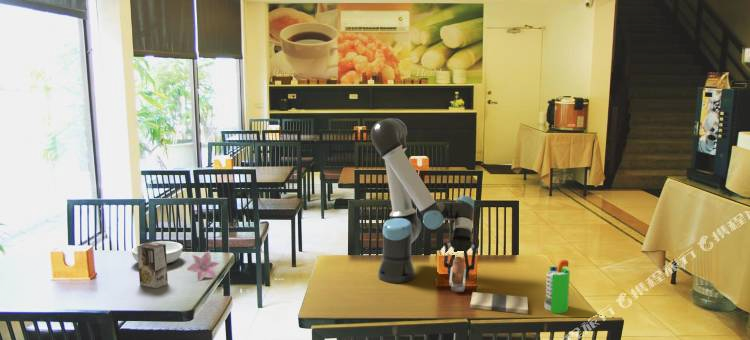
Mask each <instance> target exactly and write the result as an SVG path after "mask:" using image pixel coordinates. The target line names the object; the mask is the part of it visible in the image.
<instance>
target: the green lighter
mask: <svg viewBox="0 0 750 340" xmlns="http://www.w3.org/2000/svg"><path fill="white" fill-rule="evenodd" d="M557 265H558V266H552V265H551V266H549V270H548V271H547V272H546V283H545V284H546V285H545V288H546V289H545V297H546V298H547V299H545V300H544V308H545V310H547V311H550V313H551V314H563V313H566V312H567V311H569V295H570V294H569V291H570V270H569V269H568V268H569V260H567V259H561V260H560V261H559V263H558V264H557ZM565 267H568V268H565Z"/></svg>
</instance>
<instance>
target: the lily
mask: <svg viewBox="0 0 750 340" xmlns="http://www.w3.org/2000/svg"><path fill="white" fill-rule="evenodd" d="M192 258H193V260H194V263H192V264H191V265H189V266H188V267H187V268H186V271H189V272H192V273H197V281H200V282H201V280H202V279H203V278H204V277H205V276H206V277H209V278H212V279H217V275H216V273H215V270H214V268H216V267H218V265H219V264H220V263H218V262H216V261H212V255H211V251H210V250H207V251H206V252H205V253H204V254H203V255H202V256H201V257H199V256H198V255H192Z"/></svg>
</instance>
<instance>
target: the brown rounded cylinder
mask: <svg viewBox="0 0 750 340" xmlns="http://www.w3.org/2000/svg"><path fill="white" fill-rule="evenodd" d="M452 267H453V278H452V285H450V287H451V288H450V290H451V291H453V292H456V293H462V292H464V291H465V289H466V288H465V287H466V286H465V287H463V275H464V268H465V258H463V257H462V256H456V258H454V260H453V266H452Z"/></svg>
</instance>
